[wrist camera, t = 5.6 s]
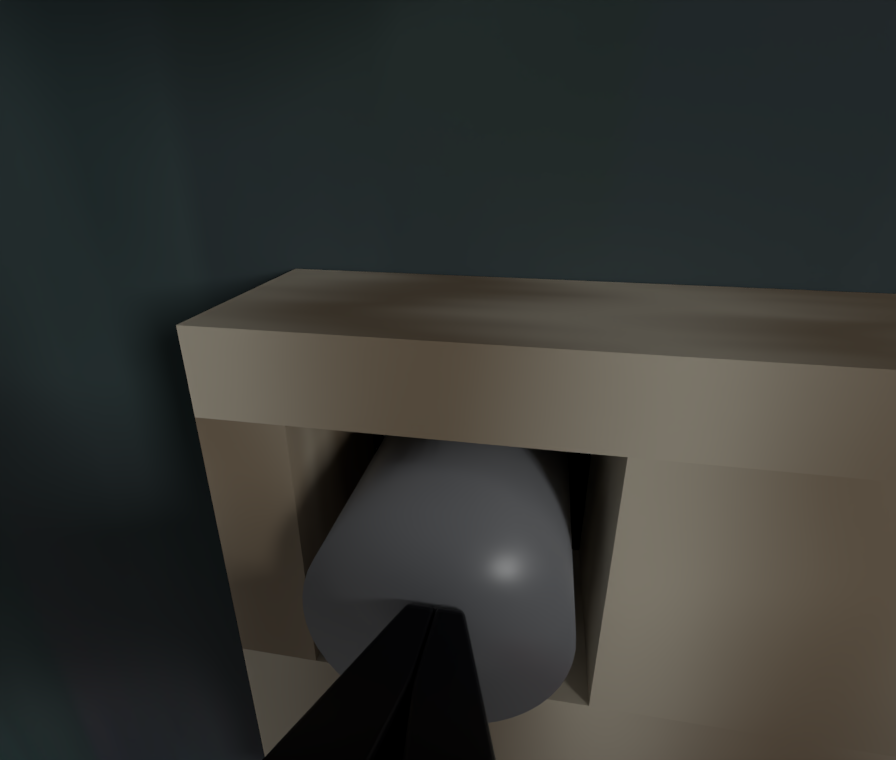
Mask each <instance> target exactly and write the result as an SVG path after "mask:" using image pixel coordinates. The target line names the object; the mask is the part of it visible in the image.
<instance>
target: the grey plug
mask: <svg viewBox="0 0 896 760" xmlns="http://www.w3.org/2000/svg"><path fill="white" fill-rule="evenodd" d="M302 598H303V611H304V616H305V620H306V624H307V627H308V629H309V632H310V634H311V637H312V638H313V640H314V642H315V644H316V646H317V648H318V649H319V651H320V652H321V653H322V655H323V656H324V658H325V659H326V660H327V662H328V663H329V664H330V665H331V666H332V667H333V668H334V669H335V671H336V672H337V673H339V674H340V675H341V674H342V673H343V672H344V671H345V670H346V669H347V668H348V667H349V666H350V665H351V664H352V662H353V661H354V660H355V659H356V658H357V657H358V656H359V655H360V654H361V653H362V652H363V651H364V649H365V648H366V647H367V646H368V645H369V644H370V643H371V642H372V641H373V640H374V639H375V638H376V637H377V635H378V634H379V633H380V632H381V631H382V630H383V629H384V628H385V627H386V626H387V625H388V624H389V623H390V621H391V620H392V619H393V618H394V617H395V616H396V615H397V614H398V613H399V612H400V611H401V610H402V609H403V607H404V606H406V605H407V604H410V603H413V604H420V605H427V606H432V607H433V608H434V609H435V611H436V610H437V609H438V608H448V609H455V610H461V611H463V612H464V614H465V616H466V621H467V626H468V630H469V635H470V640H471V644H472V649H473V654H474V659H475V663H476V668H477V673H478V677H479V682H480V687H481V691H482V696H483V701H484V705H485V710H486V715H487V720H488V723H491V722H497V721H501V720H505V719H509V718H513V717H515V716H518V715H520V714H523V713H525V712H528V711H529V710H531V709H533V708H535V707H537V706H538V705H540V704H541V703H543V702H544V701H545V700H547V699H548V698H549V697H550V696H551V695H552V694H553V693H554V692H555V691H556V690H557V689H558V688H559V687H560V686H561V684H562V683H563V681H564V680H565V678H566V677H567V675H568V673H569V670H570V668H571V666H572V663H573V659H574V655H575V650H576V624H575V602H574V580H573V557H572V535H571V512H570V490H569V467H568V456H567V452H565V451H554V450H543V449H532V448H522V447H511V446H500V445H489V444H478V443H467V442H457V441H446V440H435V439H424V438H413V437H402V436H392V435H386V436H385V438H384V439H383V441H382V443H381V445H380V446H379V448H378V450H377V451H376V453H375V455H374V457H373V458H372V460H371V462H370V463H369V465H368V467H367V469H366V470H365V472H364V474H363V475H362V477H361V479H360V481H359V482H358V484H357V486H356V487H355V489H354V491H353V493H352V494H351V496H350V498H349V499H348V501H347V503H346V505H345V506H344V508H343V510H342V511H341V513H340V515H339V517H338V518H337V520H336V522H335V523H334V525H333V527H332V529H331V530H330V532H329V534H328V535H327V537H326V539H325V541H324V542H323V544H322V546H321V547H320V549H319V551H318V553H317V554H316V556H315V558H314V559H313V561H312V563H311V565H310V567H309V569H308V571H307V575H306V578H305V581H304V586H303V595H302Z"/></svg>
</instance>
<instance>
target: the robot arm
mask: <svg viewBox="0 0 896 760" xmlns="http://www.w3.org/2000/svg"><path fill="white" fill-rule="evenodd" d="M262 760H496V757H495V752H494V748H493V743H492V738H491V734H490V729H489V724H488V720H487V715H486V710H485V705H484V701H483V696H482V691H481V687H480V682H479V677H478V673H477V668H476V663H475V659H474V654H473V649H472V644H471V640H470V635H469V630H468V626H467V621H466V616H465V614H464V612H463V611H461V610H455V609H448V608H438V609H437V610H436V611H435V609H434V608H433V607H432V606H427V605H420V604H413V603H410V604H407V605H406V606H404V607H403V609H402V610H401V611H400V612H399V613H398V614H397V615H396V616H395V617H394V618H393V619H392V620H391V621H390V623H389V624H388V625H387V626H386V627H385V628H384V629H383V630H382V631H381V632H380V633H379V634H378V635H377V637H376V638H375V639H374V640H373V641H372V642H371V643H370V644H369V645H368V646H367V647H366V648H365V649H364V651H363V652H362V653H361V654H360V655H359V656H358V657H357V658H356V659H355V660H354V661H353V662H352V664H351V665H350V666H349V667H348V668H347V669H346V670H345V671H344V672H343V673H342V674H341V675H340V676H339V678H338V679H337V680H336V681H335V682H334V683H333V684H332V685H331V686H330V687H329V688H328V689H327V690H326V692H325V693H324V694H323V695H322V696H321V697H320V698H319V699H318V700H317V701H316V702H315V703H314V704H313V706H312V707H311V708H310V709H309V710H308V711H307V712H306V713H305V714H304V715H303V716H302V717H301V718H300V720H299V721H298V722H297V723H296V724H295V725H294V726H293V727H292V728H291V729H290V730H289V731H288V732H287V734H286V735H285V736H284V737H283V738H282V739H281V740H280V741H279V742H278V743H277V744H276V745H275V746H274V748H273V749H272V750H271V751H270V752H269V753H268V754H267V755H266V756H265V757H264V758H263V759H262Z"/></svg>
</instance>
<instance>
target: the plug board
mask: <svg viewBox="0 0 896 760" xmlns="http://www.w3.org/2000/svg"><path fill="white" fill-rule="evenodd" d="M176 328H177V333H178V338H179V342H180V347H181V352H182V357H183V362H184V367H185V372H186V376H187V381H188V386H189V391H190V396H191V401H192V406H193V410H194V415H195V420H196V425H197V430H198V435H199V440H200V444H201V449H202V454H203V459H204V464H205V469H206V474H207V478H208V483H209V488H210V493H211V498H212V503H213V508H214V512H215V517H216V522H217V527H218V532H219V537H220V542H221V546H222V551H223V556H224V561H225V566H226V571H227V576H228V580H229V585H230V590H231V595H232V600H233V605H234V610H235V614H236V619H237V624H238V629H239V634H240V639H241V644H242V648H243V653H244V658H245V663H246V668H247V673H248V678H249V682H250V687H251V692H252V697H253V702H254V707H255V712H256V716H257V721H258V726H259V731H260V736H261V741H262V746H263V750H264V755H265V756H266V755H267V754H268V753H269V752H270V751H271V750H272V749H273V748H274V746H275V745H276V744H277V743H278V742H279V741H280V740H281V739H282V738H283V737H284V736H285V735H286V734H287V732H288V731H289V730H290V729H291V728H292V727H293V726H294V725H295V724H296V723H297V722H298V721H299V720H300V718H301V717H302V716H303V715H304V714H305V713H306V712H307V711H308V710H309V709H310V708H311V707H312V706H313V704H314V703H315V702H316V701H317V700H318V699H319V698H320V697H321V696H322V695H323V694H324V693H325V692H326V690H327V689H328V688H329V687H330V686H331V685H332V684H333V683H334V682H335V681H336V680H337V679H338V678H339V676H340V674H339V673H337V672H336V671H335V669H334V668H333V667H332V666H331V665H330V664H329V663H328V662H327V660H326V659H325V658H324V656H323V655H322V653H321V652H320V651H319V649H318V648H317V646H316V644H315V642H314V640H313V638H312V637H311V634H310V632H309V629H308V627H307V624H306V620H305V616H304V611H303V598H302V595H303V586H304V581H305V578H306V575H307V571H308V569H309V567H310V565H311V563H312V561H313V559H314V558H315V556H316V554H317V553H318V551H319V549H320V547H321V546H322V544H323V542H324V541H325V539H326V537H327V535H328V534H329V532H330V530H331V529H332V527H333V525H334V523H335V522H336V520H337V518H338V517H339V515H340V513H341V511H342V510H343V508H344V506H345V505H346V503H347V501H348V499H349V498H350V496H351V494H352V493H353V491H354V489H355V487H356V486H357V484H358V482H359V481H360V479H361V477H362V475H363V474H364V472H365V470H366V469H367V467H368V465H369V463H370V462H371V460H372V458H373V457H374V442H373V434H381V435H392V436H402V437H413V438H424V439H435V440H446V441H457V442H467V443H478V444H489V445H500V446H511V447H522V448H532V449H543V450H554V451H565V452H576V453H587V454H591V460H590V468H589V476H588V484H587V492H586V500H585V508H584V516H583V524H582V532H581V540H580V548H579V550H574V549H572V557H573V580H574V602H575V624H576V650H575V655H574V659H573V663H572V666H571V668H570V670H569V673H568V675H567V677H566V678H565V680H564V681H563V683H562V684H561V686H560V687H559V688H558V689H557V690H556V691H555V692H554V693H553V694H552V695H551V696H550V697H549V698H548V699H547V700H545V701H544V702H543V703H541V704H540V705H538V706H537V707H535V708H533V709H531V710H529V711H528V712H525V713H523V714H520V715H518V716H515V717H513V718H509V719H505V720H501V721H497V722H491V723H488V724H489V729H490V734H491V738H492V743H493V748H494V752H495V757H496V760H896V294H885V293H861V292H837V291H813V290H790V289H766V288H742V287H718V286H694V285H670V284H646V283H622V282H599V281H575V280H551V279H527V278H503V277H479V276H455V275H431V274H408V273H384V272H360V271H336V270H312V269H294V270H292V271H290V272H288V273H285V274H283V275H281V276H279V277H277V278H275V279H273V280H271V281H268V282H266V283H264V284H262V285H260V286H258V287H256V288H254V289H252V290H249V291H247V292H245V293H243V294H241V295H239V296H237V297H235V298H232V299H230V300H228V301H226V302H224V303H222V304H220V305H218V306H215V307H213V308H211V309H209V310H207V311H205V312H203V313H201V314H199V315H196V316H194V317H192V318H190V319H188V320H186V321H184V322H182V323H179V324H177V325H176Z"/></svg>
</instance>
